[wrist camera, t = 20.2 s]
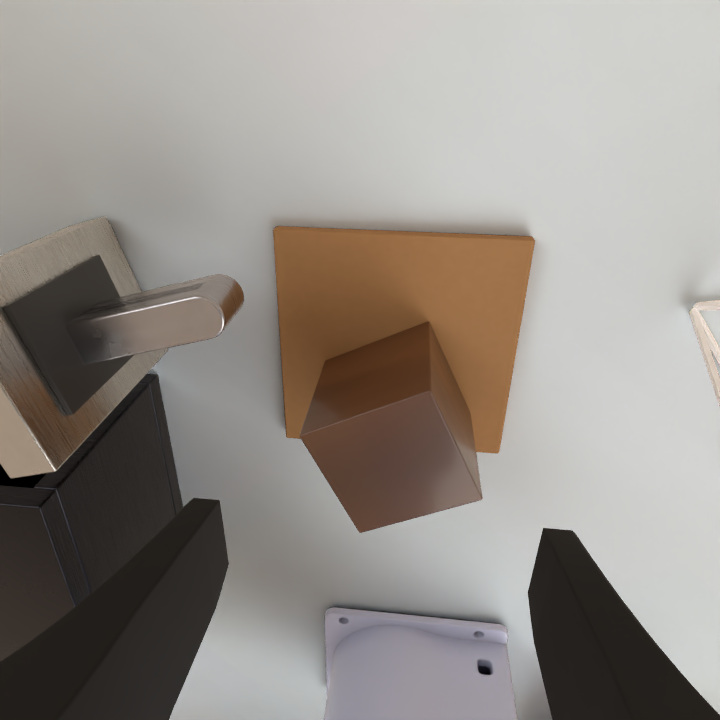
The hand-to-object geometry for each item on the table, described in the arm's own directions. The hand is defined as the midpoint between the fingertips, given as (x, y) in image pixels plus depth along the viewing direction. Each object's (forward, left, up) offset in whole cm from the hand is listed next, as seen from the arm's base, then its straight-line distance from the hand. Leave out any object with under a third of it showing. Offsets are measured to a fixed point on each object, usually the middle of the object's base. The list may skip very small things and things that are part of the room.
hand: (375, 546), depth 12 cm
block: (0, +2, -10) cm, 10 cm away
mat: (0, 0, -10) cm, 10 cm away
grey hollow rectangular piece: (+8, -2, -10) cm, 13 cm away
